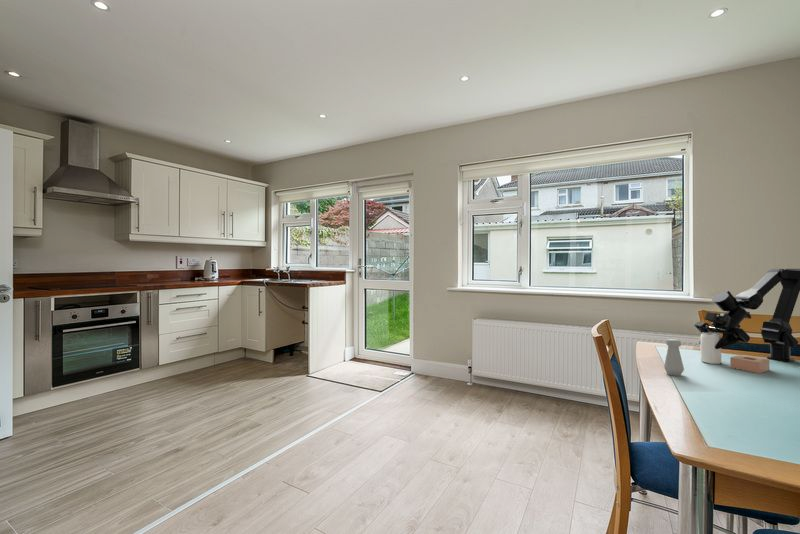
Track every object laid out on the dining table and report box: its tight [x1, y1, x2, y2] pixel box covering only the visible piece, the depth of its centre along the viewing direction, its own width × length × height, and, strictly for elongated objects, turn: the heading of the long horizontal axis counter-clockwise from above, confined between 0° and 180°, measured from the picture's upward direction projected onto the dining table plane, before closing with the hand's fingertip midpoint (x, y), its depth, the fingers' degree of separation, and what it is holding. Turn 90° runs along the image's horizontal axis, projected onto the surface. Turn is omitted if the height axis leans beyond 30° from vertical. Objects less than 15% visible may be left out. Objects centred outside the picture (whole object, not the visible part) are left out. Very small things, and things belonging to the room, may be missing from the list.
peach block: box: [729, 354, 771, 374], centre depth 136 cm, size 8×8×4 cm
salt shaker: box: [663, 338, 685, 377], centre depth 131 cm, size 6×6×13 cm
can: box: [699, 332, 722, 365], centre depth 146 cm, size 6×6×12 cm
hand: (707, 346), depth 145 cm, fingers closed on can, 6 cm apart
